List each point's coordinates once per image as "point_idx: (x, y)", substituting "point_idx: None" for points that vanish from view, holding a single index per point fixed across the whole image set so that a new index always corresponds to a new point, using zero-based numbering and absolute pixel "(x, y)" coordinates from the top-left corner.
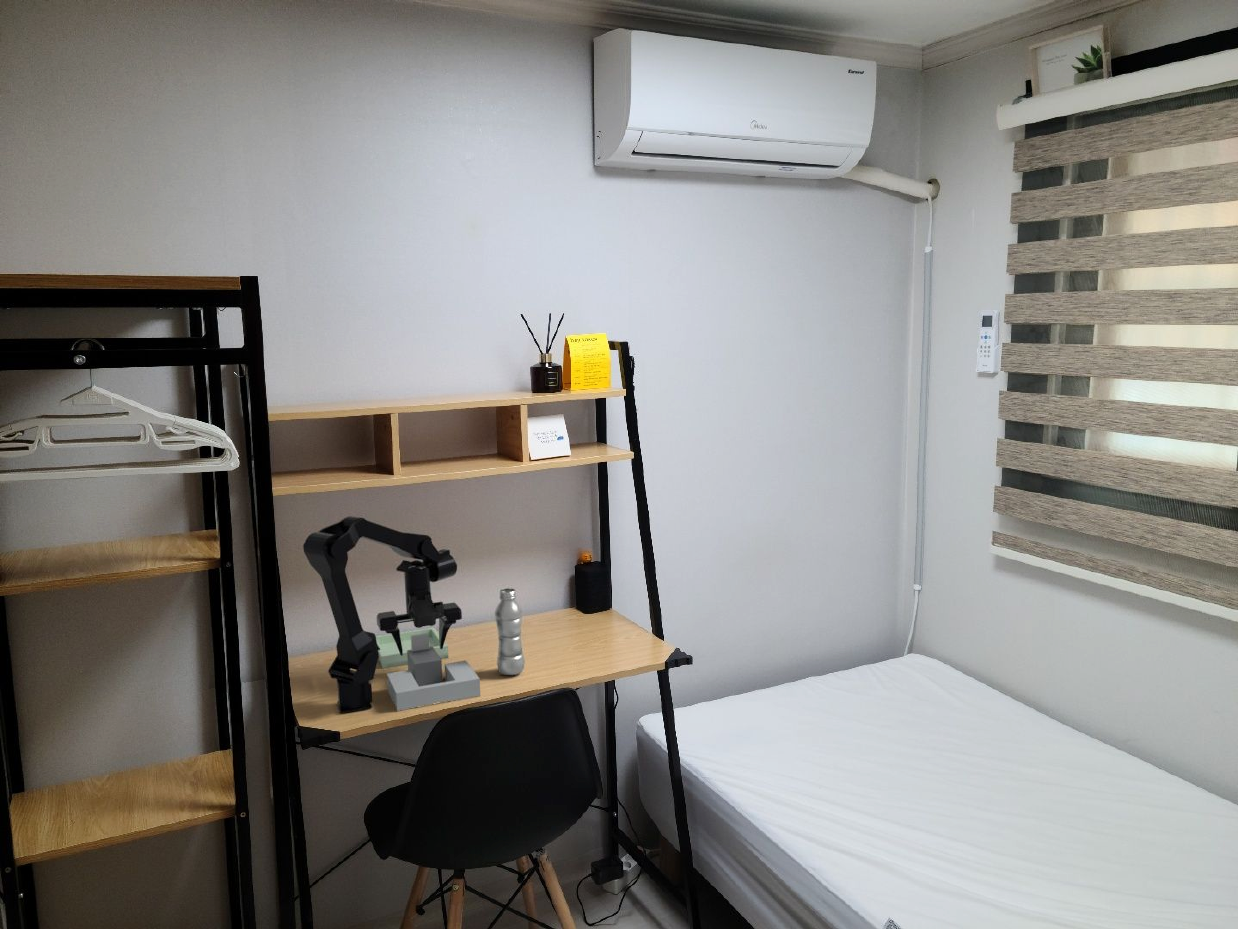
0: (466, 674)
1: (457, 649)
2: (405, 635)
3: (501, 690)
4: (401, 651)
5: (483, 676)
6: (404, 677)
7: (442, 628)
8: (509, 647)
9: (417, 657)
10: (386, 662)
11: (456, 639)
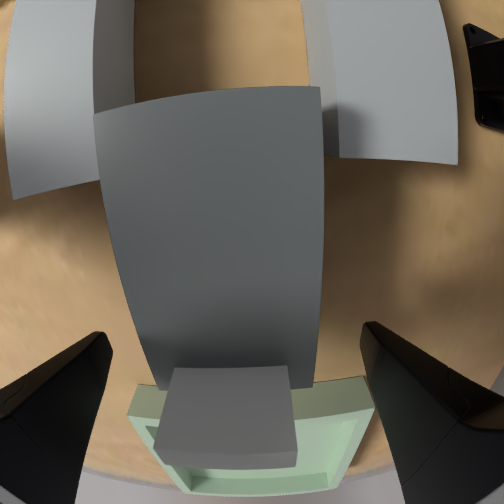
0: (41, 2)
1: (122, 416)
2: (256, 488)
3: (5, 36)
4: (383, 335)
5: None
6: (382, 43)
7: (7, 425)
8: None
9: (274, 242)
10: (354, 392)
11: (136, 453)
